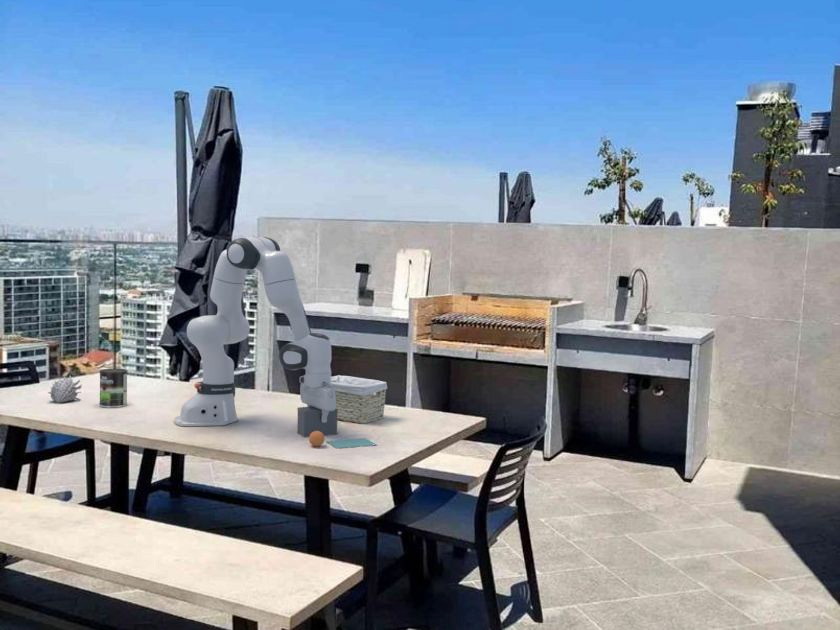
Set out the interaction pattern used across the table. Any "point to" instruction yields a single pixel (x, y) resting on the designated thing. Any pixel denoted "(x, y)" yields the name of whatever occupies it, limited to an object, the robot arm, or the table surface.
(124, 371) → the coffee can
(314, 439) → the ball
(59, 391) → the sea urchin
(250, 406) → the table surface
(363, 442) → the teal flat pad
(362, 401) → the storage basket
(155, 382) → the table surface
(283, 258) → the robot arm
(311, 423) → the slate gray brick
